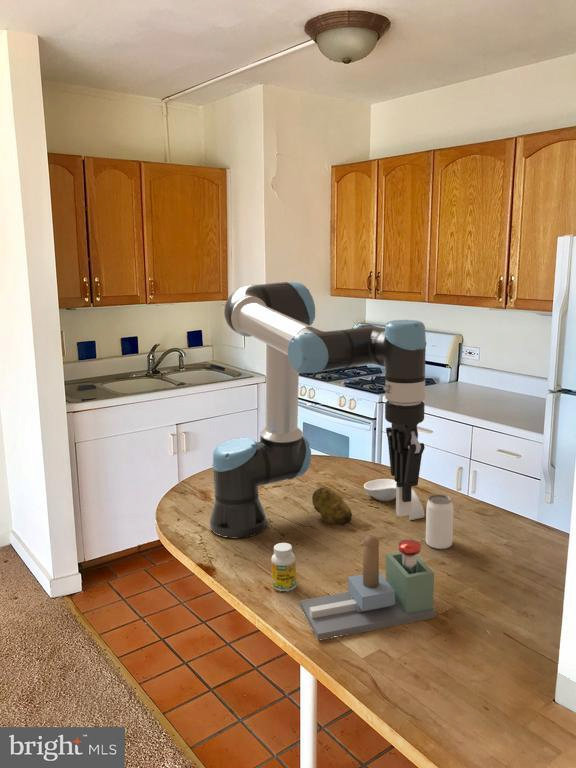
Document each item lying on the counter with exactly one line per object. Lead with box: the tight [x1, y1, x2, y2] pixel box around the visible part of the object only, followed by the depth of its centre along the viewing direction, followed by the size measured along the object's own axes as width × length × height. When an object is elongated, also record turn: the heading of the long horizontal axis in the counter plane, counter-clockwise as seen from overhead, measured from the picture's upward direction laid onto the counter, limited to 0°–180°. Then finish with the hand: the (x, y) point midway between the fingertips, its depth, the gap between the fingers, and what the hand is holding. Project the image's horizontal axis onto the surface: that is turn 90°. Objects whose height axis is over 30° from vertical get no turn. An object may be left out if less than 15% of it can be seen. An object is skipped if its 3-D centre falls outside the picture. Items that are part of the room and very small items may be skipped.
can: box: [425, 494, 454, 550], centre depth 157 cm, size 6×6×12 cm
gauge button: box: [398, 539, 422, 574], centre depth 131 cm, size 4×4×9 cm
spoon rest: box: [363, 478, 425, 521], centre depth 182 cm, size 24×12×7 cm, turn 24°
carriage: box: [347, 534, 395, 612], centre depth 129 cm, size 8×7×15 cm
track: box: [299, 551, 436, 641], centre depth 129 cm, size 12×25×10 cm, turn 105°
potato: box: [311, 486, 353, 526], centre depth 173 cm, size 8×13×8 cm, turn 19°
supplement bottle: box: [270, 542, 297, 592], centre depth 140 cm, size 5×5×10 cm
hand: (403, 514), depth 128 cm, fingers closed
